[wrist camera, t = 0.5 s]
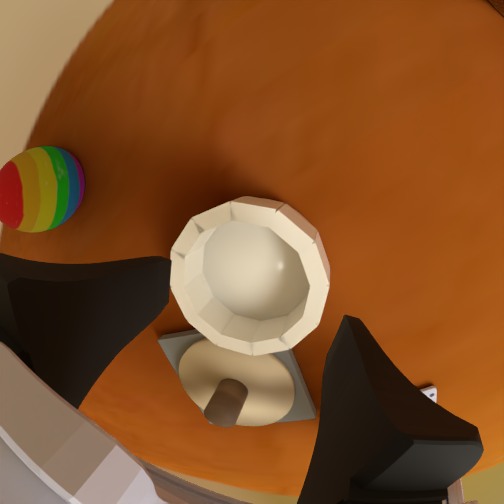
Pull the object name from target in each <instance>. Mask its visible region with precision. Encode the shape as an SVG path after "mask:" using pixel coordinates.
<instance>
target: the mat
mask: <svg viewBox="0 0 504 504" xmlns="http://www.w3.org/2000/svg"><path fill="white" fill-rule="evenodd" d="M204 338H206V337H205V336H204V335H203V334H202V333H200V332H199V331H198V330H197V329H194V330H188V331H183V332H177V333H172V334H166V335H162V336H161V337H160V338H159V339H158V342H159V344H160V346H161V347H162V349H163V351H164V353H165V354H166V356H167V358H168V359H169V361H170V363H171V364H172V366H173V368H174V369H175V371H176V373H177V374H178V376H179V363H180V360H181V358H182V356H183V355H184V353H185V352H186V351H187V349H188V348H189V347H190V346H191V345H192V344H194V343H195V342H197V341H199V340H201V339H204ZM273 354H274V355H275V356H276V357H278V358H279V359H280V360H281V361H282V362H283V363H284V364H285V366H286V367H287V368H288V370H289V371H290V373H291V375H292V377H293V380H294V383H295V397H294V401H293V405H292V407H291V409H290V411H289V412H288V413H287V414H286V415H285V416H284V417H283V418H281V419H280V420H278V421H276V422H274V423H277V422H289V421H299V420H308V419H316V413H317V411H316V408H315V406H314V403H313V401H312V398H311V396H310V393H309V391H308V388H307V386H306V383H305V381H304V378H303V376H302V373H301V371H300V368H299V366H298V363H297V361H296V358H295V356H294V353H293V351H292V348H291V349H290V348H289V350H285V351H280V352H274V353H273ZM199 408H200V409H201V411H202V412H203V414H204V410H203V409H202V408H201V407H199ZM208 421H209V420H208ZM209 422H210V421H209ZM210 423H211V422H210ZM211 424H213V423H211Z"/></svg>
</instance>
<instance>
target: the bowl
mask: <svg viewBox="0 0 504 504" xmlns="http://www.w3.org/2000/svg"><path fill="white" fill-rule="evenodd" d="M171 249H172V250H171V259H170V260H172V266H171V277H170V286H172V287H171V290H172V292H173V294H174V296H175V298H176V300H177V302H178V304H179V306H180V308H181V310H182V312H183V314H184V316H185V318H186V320H188V322H189V323H190V324H191V325H192V326H193V327H195V328H196V329H197V330H198V331H199V332H200V333H202V334H203V335H204V336H205V337H206V338H208V339H209V340H210V341H211V342H213V343H214V344H215V345H216V344H217V346H220V347H223V348H226V349H230V350H233V351H237V352H240V353H244V354H247V355H251V356H252V355H254V356H256V355H262V354H268V353H274V352H280V351H285V350H289V348H290V349H291V348H292V347H294V346H295V345H296V344H297V343H298V342H300V341H301V340H302V339H303V338H304V337H306V336H307V335H308V334H309V333H310V332H311V331H313V330H314V329H315V328H316V327H317V326H318V324H319V323H320V319H321V316H322V312H323V309H324V305H325V301H326V298H327V294H328V290H329V284H330V266H329V263H328V260H327V256H326V253H325V250H324V247H323V244H322V242H321V239H320V236H319V233H318V231H317V229H316V228H315V227H313V226H312V225H311V224H310V222H309V221H308V220H307V219H306V218H305V217H304V216H303V215H302V214H300V213H299V212H298V211H296V210H295V209H293V208H291V207H290V206H289V205H288V204H284V202H279V201H275V200H271V199H265V198H256V197H250V196H243V197H240V198H238V199H235V200H232V201H229V202H227V203H224V204H222V205H219V206H217V207H215V208H212V209H210V210H208V211H205V212H203V213H201V214H198V215H196V216H194V217H192V218H191V219H190V220H189V222H188V223H187V225H186V226H185V228H184V230H183V231H182V233H181V234H180V236H179V237H178V239H177V240H176V242H175V244H174V245H173V247H172V248H171Z"/></svg>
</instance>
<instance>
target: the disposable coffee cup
mask: <svg viewBox="0 0 504 504" xmlns="http://www.w3.org/2000/svg"><path fill="white" fill-rule="evenodd" d="M489 2H490V3H491V4H492V5H493V6H494V7H495V9H496V10H497V11H498V12H499V13H501V14H502V15H503V16H504V0H489Z"/></svg>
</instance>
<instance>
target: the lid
mask: <svg viewBox="0 0 504 504" xmlns="http://www.w3.org/2000/svg"><path fill="white" fill-rule="evenodd" d="M179 377H180V380H181V383H182V385H183V388H184V389H185V391H186V393H187V394H188V395H189V397H190V398H191V399H192V400H193V401H194V402H195V403H196V404H197V405H198V406H199V407H201V408H202V409H203V410H204V415H205V417H206V418H207V419H208V420H209V421H210V422H211V423H213V424H215V425H217V426H220V427H226V428H228V427H232V426H234V425H235V424H237V425H243V426H262V425H267V424H271V423H274V422H276V421H278V420H280V419H281V418H283V417H284V416H285V415H286V414H287V413H288V412H289V411H290V409H291V407H292V405H293V401H294V397H295V383H294V380H293V377H292V375H291V373H290V371H289V370H288V368H287V367H286V366H285V364H284V363H283V362H282V361H281V360H280V359H279V358H278V357H276V356H275V355H274V354H273V353H268V354H262V355H256V356H254V355H252V356H251V355H247V354H244V353H240V352H237V351H233V350H230V349H226V348H223V347H220V346H217V344H216V345H215V344H214V343H213V342H211V341H210V340H209V339H208V338H204V339H201V340H199V341H197V342H195V343H194V344H192V345H191V346H190V347H189V348H188V349H187V351H186V352H185V353H184V355H183V356H182V358H181V360H180V363H179Z"/></svg>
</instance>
